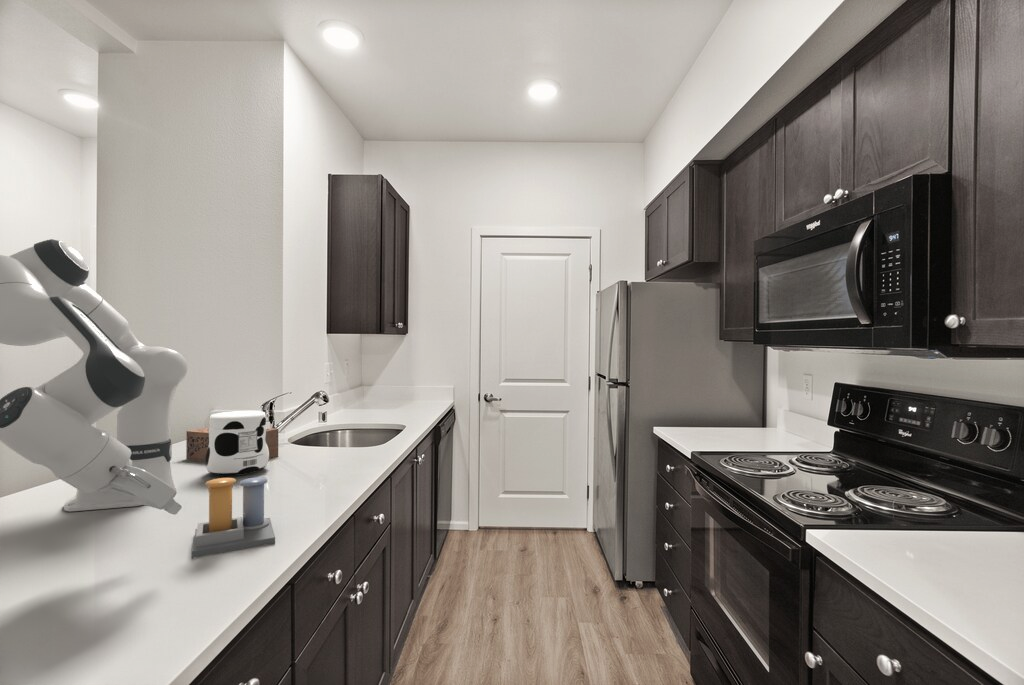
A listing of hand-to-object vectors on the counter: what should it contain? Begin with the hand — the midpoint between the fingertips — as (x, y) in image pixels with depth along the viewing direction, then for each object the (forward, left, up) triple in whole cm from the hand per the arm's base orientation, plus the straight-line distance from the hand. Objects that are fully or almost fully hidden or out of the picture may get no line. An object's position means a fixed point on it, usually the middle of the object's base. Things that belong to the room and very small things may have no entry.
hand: (163, 506), depth 93 cm
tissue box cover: (+13, +88, -10) cm, 90 cm away
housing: (+12, +5, -10) cm, 16 cm away
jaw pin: (+9, +5, -9) cm, 14 cm away
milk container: (+14, +65, -10) cm, 67 cm away
